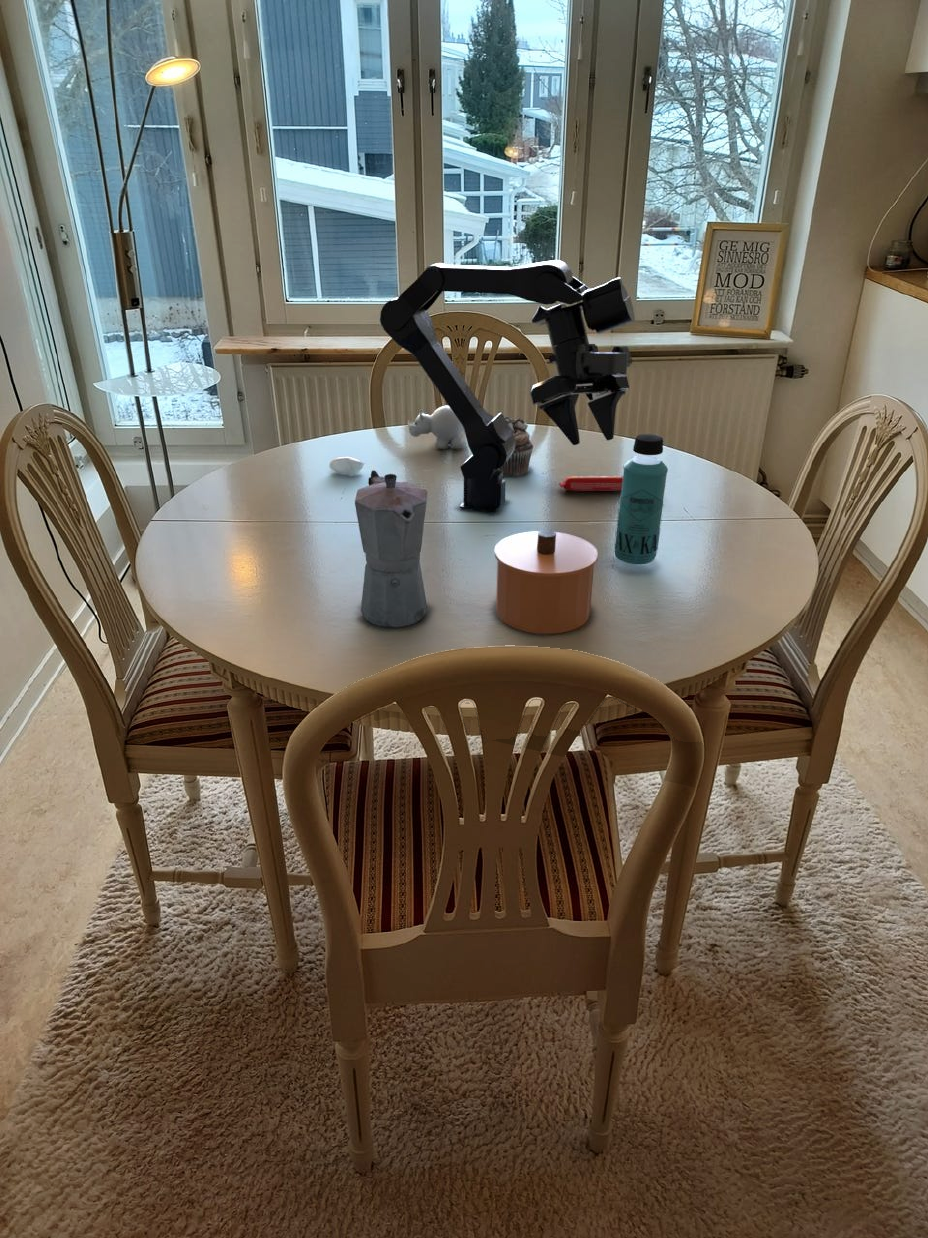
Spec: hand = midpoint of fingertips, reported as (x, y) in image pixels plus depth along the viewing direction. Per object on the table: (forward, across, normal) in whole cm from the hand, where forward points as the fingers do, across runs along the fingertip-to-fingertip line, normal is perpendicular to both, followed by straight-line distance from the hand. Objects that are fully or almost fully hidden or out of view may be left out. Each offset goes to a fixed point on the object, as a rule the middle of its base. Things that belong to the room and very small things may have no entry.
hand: (593, 441), depth 135 cm
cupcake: (-2, +16, +32) cm, 36 cm away
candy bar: (+7, +19, +14) cm, 25 cm away
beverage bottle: (+20, -4, -4) cm, 21 cm away
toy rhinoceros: (-12, +17, +51) cm, 55 cm away
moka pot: (+17, -39, +12) cm, 44 cm away
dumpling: (-8, -7, +52) cm, 53 cm away
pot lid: (+15, -26, -6) cm, 31 cm away
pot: (+22, -25, -3) cm, 34 cm away
